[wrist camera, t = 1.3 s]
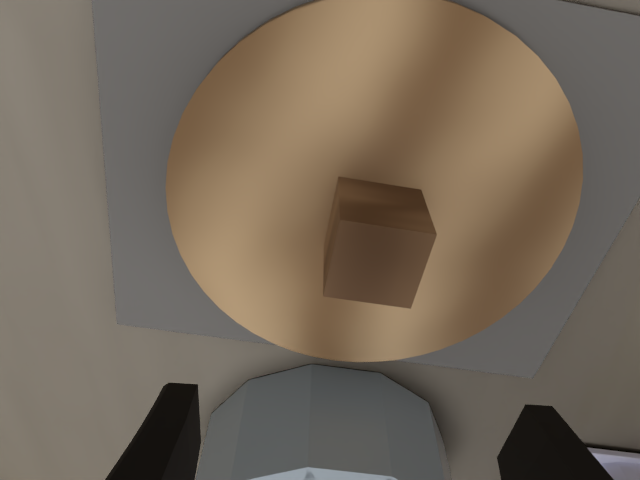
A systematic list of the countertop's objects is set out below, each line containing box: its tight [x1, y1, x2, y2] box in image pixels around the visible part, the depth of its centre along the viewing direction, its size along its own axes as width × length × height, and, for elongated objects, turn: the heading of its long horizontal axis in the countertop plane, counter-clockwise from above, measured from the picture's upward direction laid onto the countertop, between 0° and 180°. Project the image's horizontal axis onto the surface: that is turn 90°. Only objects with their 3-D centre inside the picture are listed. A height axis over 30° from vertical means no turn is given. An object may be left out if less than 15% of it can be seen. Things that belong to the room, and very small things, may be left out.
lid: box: [166, 0, 583, 362], centre depth 17 cm, size 15×15×4 cm
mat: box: [92, 0, 640, 378], centre depth 19 cm, size 20×16×1 cm
